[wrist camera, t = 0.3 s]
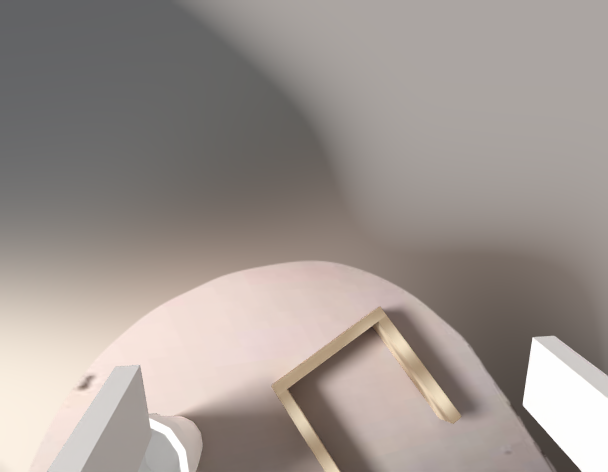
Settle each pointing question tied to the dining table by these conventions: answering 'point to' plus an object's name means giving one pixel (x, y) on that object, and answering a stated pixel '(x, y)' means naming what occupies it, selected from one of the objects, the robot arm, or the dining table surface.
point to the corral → (375, 319)
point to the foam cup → (172, 445)
